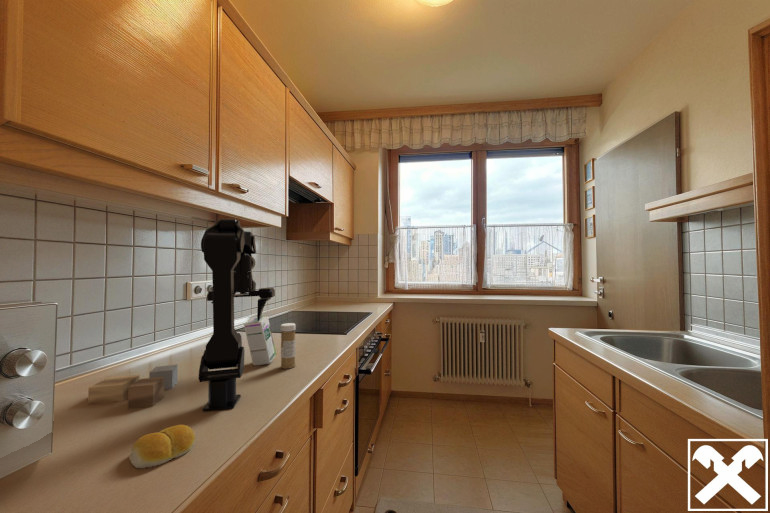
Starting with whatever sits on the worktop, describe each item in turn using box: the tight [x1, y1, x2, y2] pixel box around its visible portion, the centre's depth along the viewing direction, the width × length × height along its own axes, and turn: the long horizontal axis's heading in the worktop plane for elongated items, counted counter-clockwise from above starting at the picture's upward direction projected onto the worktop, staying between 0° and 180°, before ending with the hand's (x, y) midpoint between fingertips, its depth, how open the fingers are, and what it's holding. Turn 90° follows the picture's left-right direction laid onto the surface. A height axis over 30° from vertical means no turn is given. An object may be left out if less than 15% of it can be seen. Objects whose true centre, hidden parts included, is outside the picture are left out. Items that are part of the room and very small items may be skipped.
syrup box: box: [243, 315, 277, 366], centre depth 100 cm, size 6×6×14 cm
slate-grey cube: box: [148, 363, 179, 390], centre depth 82 cm, size 5×5×5 cm
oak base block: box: [87, 374, 141, 405], centre depth 77 cm, size 7×7×4 cm
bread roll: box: [128, 424, 196, 469], centre depth 53 cm, size 8×9×4 cm
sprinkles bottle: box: [280, 322, 296, 369], centre depth 97 cm, size 5×5×13 cm
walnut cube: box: [127, 377, 165, 410], centre depth 73 cm, size 5×5×5 cm
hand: (242, 321), depth 96 cm, fingers open, 9 cm apart
